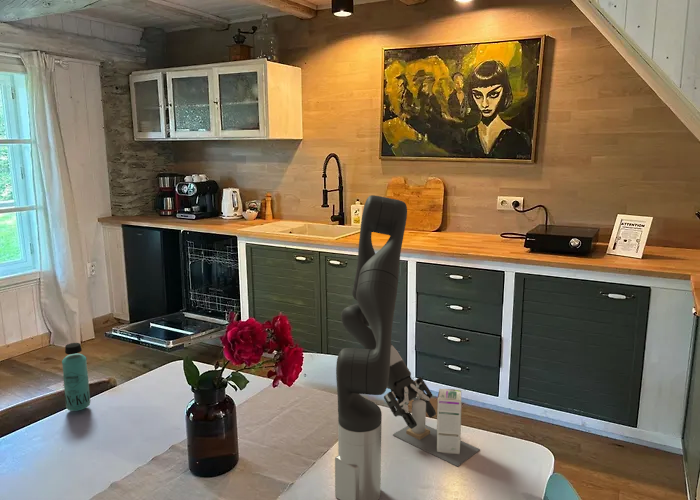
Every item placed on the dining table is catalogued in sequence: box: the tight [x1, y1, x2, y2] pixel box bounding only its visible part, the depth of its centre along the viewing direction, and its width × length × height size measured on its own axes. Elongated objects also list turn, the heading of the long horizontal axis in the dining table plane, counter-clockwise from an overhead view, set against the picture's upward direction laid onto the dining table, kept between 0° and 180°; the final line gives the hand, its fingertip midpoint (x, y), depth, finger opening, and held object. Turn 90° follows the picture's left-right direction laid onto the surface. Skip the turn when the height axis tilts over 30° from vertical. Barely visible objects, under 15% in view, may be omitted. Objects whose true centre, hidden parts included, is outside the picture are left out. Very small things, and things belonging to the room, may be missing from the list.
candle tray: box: [392, 400, 481, 467], centre depth 139 cm, size 10×20×9 cm, turn 46°
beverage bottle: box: [61, 342, 91, 412], centre depth 154 cm, size 6×7×20 cm
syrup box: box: [436, 388, 462, 454], centre depth 136 cm, size 6×6×14 cm
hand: (424, 421), depth 142 cm, fingers open, 7 cm apart
